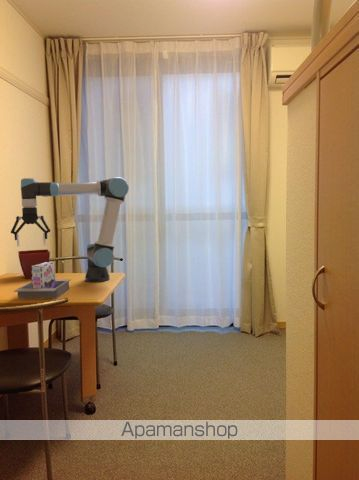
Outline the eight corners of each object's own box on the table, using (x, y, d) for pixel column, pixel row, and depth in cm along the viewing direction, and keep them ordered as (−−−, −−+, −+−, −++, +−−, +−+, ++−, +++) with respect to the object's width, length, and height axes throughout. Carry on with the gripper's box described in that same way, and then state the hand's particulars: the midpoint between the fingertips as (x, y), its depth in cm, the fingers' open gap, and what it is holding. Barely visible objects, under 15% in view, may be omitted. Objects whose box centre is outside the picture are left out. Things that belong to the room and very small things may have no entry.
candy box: (42, 297, 195) (40, 266, 193) (32, 296, 196) (30, 265, 194) (56, 290, 208) (54, 261, 206) (46, 290, 209) (45, 261, 208)
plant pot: (19, 275, 255) (18, 250, 254) (48, 272, 263) (47, 249, 261) (19, 280, 238) (18, 254, 236) (51, 277, 246) (50, 252, 244)
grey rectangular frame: (71, 287, 215) (70, 279, 215) (54, 300, 188) (53, 290, 188) (36, 287, 216) (35, 279, 215) (14, 300, 189) (13, 290, 188)
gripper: (54, 206, 211) (55, 243, 213) (6, 207, 205) (8, 245, 207) (52, 206, 203) (54, 245, 206) (3, 207, 197) (5, 247, 200)
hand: (31, 245), depth 206 cm, fingers open, 13 cm apart
